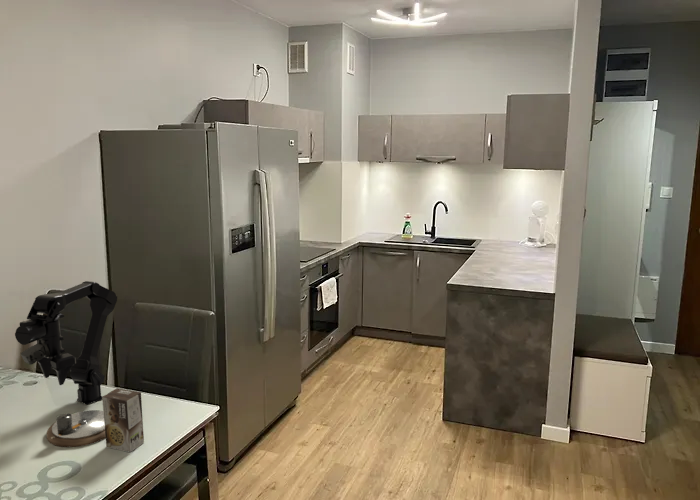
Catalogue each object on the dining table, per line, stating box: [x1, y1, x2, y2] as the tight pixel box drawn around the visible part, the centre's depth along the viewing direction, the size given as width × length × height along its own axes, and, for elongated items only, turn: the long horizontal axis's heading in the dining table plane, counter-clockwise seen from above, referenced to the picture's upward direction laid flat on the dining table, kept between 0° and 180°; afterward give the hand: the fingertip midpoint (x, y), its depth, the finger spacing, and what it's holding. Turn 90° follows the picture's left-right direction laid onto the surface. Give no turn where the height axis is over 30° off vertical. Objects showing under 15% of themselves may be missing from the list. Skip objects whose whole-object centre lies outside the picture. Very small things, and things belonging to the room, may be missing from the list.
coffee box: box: [101, 387, 145, 453], centre depth 165 cm, size 9×6×16 cm
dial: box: [52, 409, 105, 440], centre depth 174 cm, size 17×17×6 cm
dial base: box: [46, 423, 106, 448], centre depth 175 cm, size 20×20×2 cm
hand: (54, 381), depth 180 cm, fingers open, 9 cm apart
